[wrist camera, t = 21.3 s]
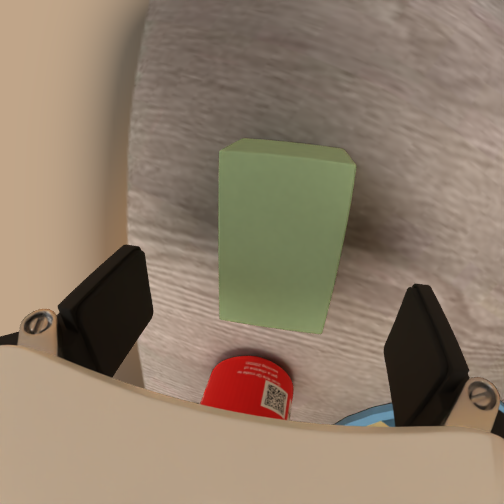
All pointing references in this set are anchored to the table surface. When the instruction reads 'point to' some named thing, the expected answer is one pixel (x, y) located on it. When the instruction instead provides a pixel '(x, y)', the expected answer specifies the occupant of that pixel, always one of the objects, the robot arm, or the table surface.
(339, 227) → the sage pad
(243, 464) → the robot arm
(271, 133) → the table surface
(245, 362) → the beverage can
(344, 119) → the table surface
